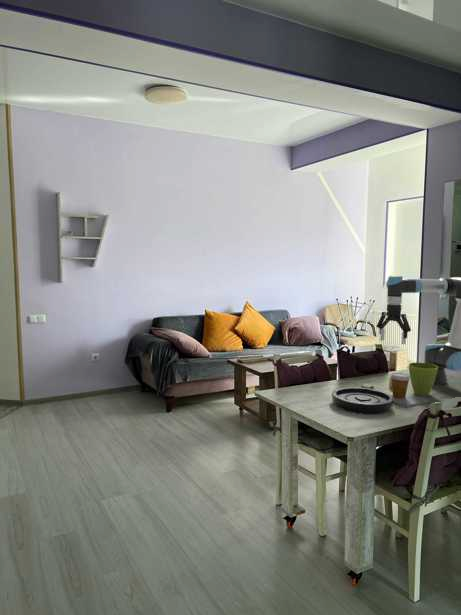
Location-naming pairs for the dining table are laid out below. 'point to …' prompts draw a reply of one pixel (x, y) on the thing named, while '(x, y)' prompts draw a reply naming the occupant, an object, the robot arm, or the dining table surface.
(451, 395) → the dining table surface
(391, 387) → the light brown egg
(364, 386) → the walnut block
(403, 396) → the disposable coffee cup
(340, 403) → the round tray
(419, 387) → the flower pot
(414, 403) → the slate board
